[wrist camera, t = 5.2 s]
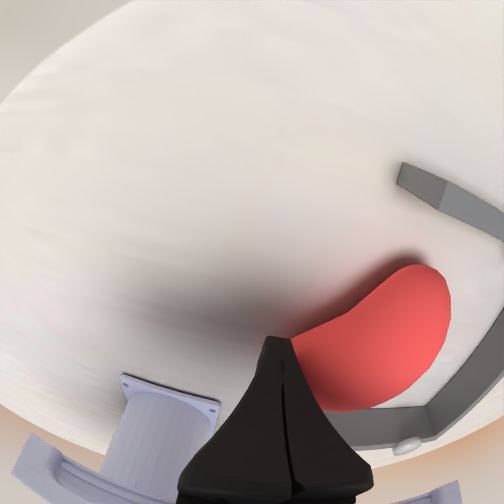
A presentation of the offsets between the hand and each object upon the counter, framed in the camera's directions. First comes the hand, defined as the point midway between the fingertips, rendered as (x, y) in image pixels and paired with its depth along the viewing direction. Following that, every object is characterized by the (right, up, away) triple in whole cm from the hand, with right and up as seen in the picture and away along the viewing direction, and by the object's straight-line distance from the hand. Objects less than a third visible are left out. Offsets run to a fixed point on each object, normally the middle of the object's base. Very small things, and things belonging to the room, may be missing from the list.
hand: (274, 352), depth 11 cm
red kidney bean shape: (+4, +1, +2) cm, 5 cm away
